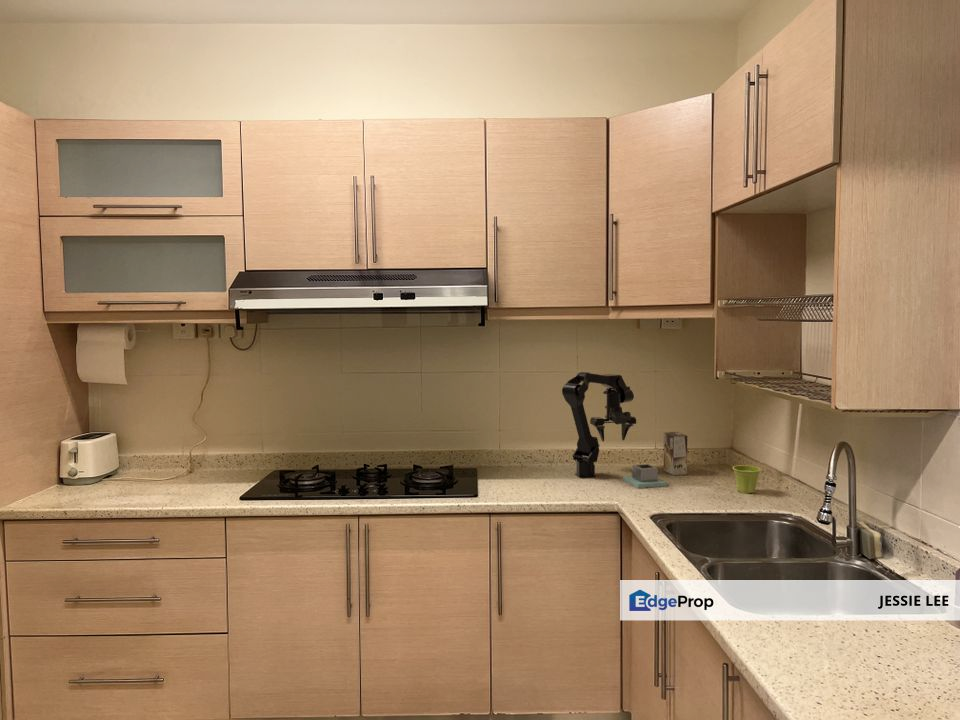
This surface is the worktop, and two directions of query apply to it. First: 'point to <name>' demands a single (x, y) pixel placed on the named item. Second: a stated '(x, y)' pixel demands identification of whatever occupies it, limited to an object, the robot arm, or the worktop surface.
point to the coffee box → (675, 453)
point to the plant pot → (746, 478)
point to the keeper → (644, 484)
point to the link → (644, 473)
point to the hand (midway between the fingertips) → (613, 440)
